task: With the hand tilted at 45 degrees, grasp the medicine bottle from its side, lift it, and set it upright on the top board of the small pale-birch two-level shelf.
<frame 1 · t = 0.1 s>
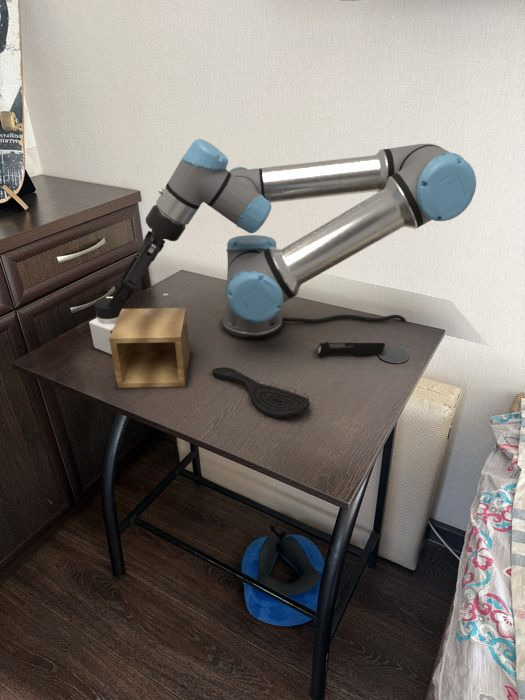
hand: (120, 294, 108), 15 cm above the table, tool tilted 35°, fingers open, 13 cm apart
electric trimmer: (348, 354, 117), on the table
hairbrush: (256, 395, 103), on the table
shelf: (155, 370, 110), on the table
medicine bottle: (115, 346, 119), on the table
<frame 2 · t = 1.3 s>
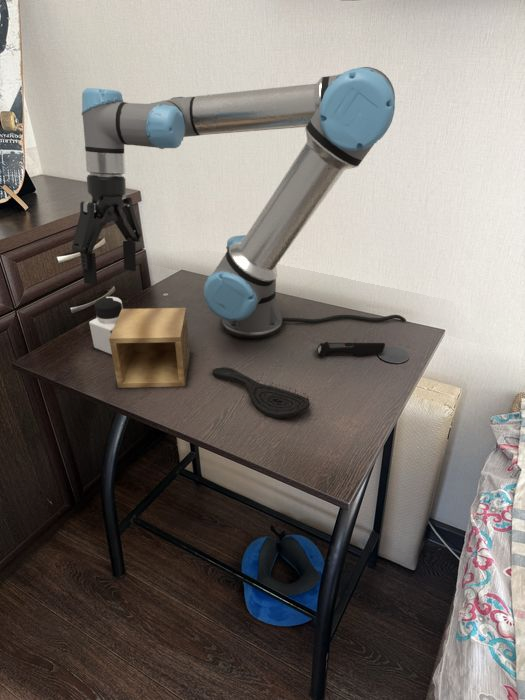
hand: (111, 276, 110), 18 cm above the table, tool pointing down, fingers open, 13 cm apart
nothing on the table moved.
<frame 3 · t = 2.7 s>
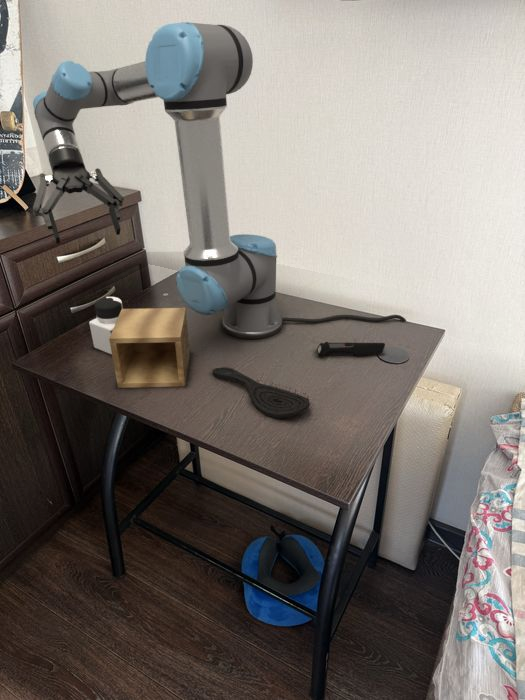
hand: (89, 236, 115), 24 cm above the table, tool tilted 45°, fingers open, 13 cm apart
nothing on the table moved.
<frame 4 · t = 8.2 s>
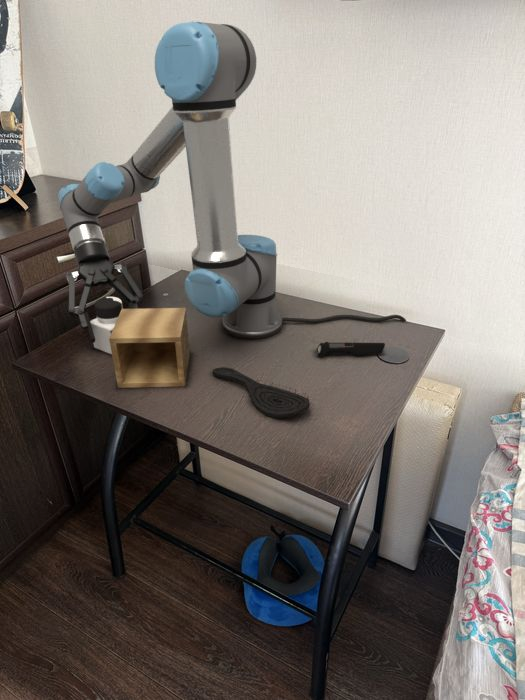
hand: (116, 335, 115), 4 cm above the table, tool tilted 45°, fingers closed on medicine bottle, 9 cm apart
medicine bottle: (115, 346, 119), on the table, touching gripper
everything else where it was.
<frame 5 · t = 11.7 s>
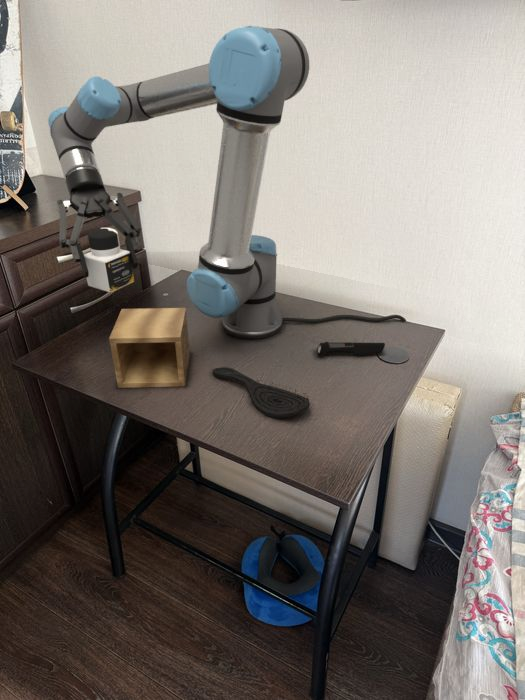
hand: (111, 270, 104), 21 cm above the table, tool tilted 45°, fingers closed on medicine bottle, 9 cm apart
medicine bottle: (111, 284, 109), point 17 cm above the table, touching gripper
everything else where it was.
when the fingers open (16 cm above the table, at t = 15.5 s): medicine bottle stays where it is, resting on shelf.
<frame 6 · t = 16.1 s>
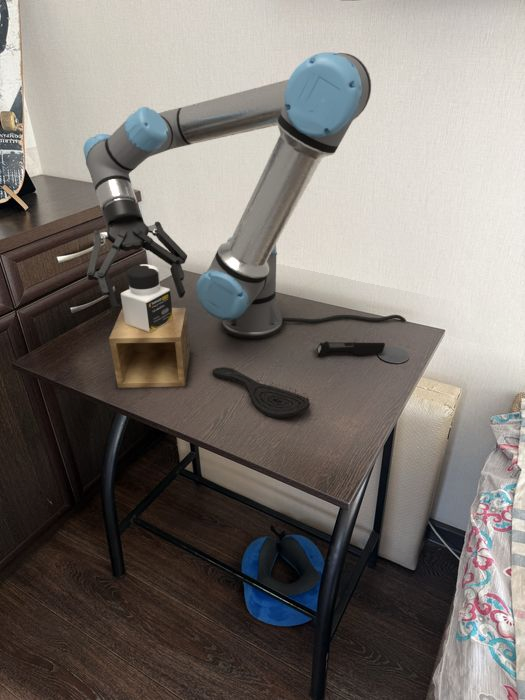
hand: (149, 302, 99), 18 cm above the table, tool tilted 45°, fingers open, 13 cm apart
medicine bottle: (149, 322, 104), point 12 cm above the table, touching shelf
everything else where it was.
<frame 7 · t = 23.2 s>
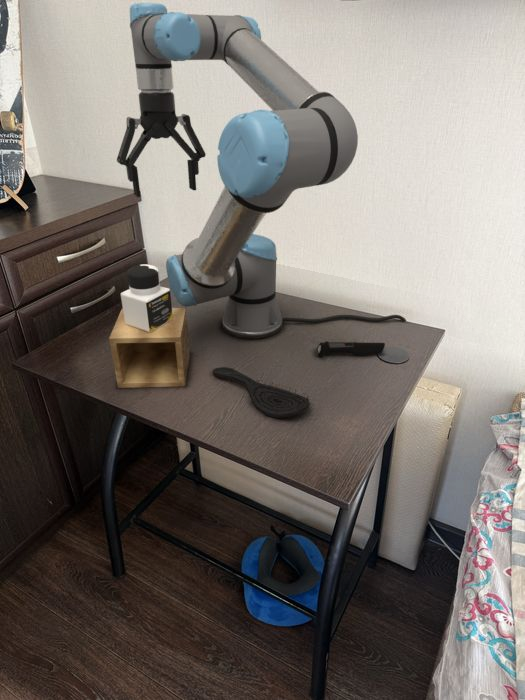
hand: (165, 192, 118), 32 cm above the table, tool pointing down, fingers open, 13 cm apart
nothing on the table moved.
at the end: medicine bottle inside the target area on the shelf (0.1 cm from its centre), point 11.8 cm above the shelf's base; medicine bottle tilted 0°; the gripper is holding nothing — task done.
